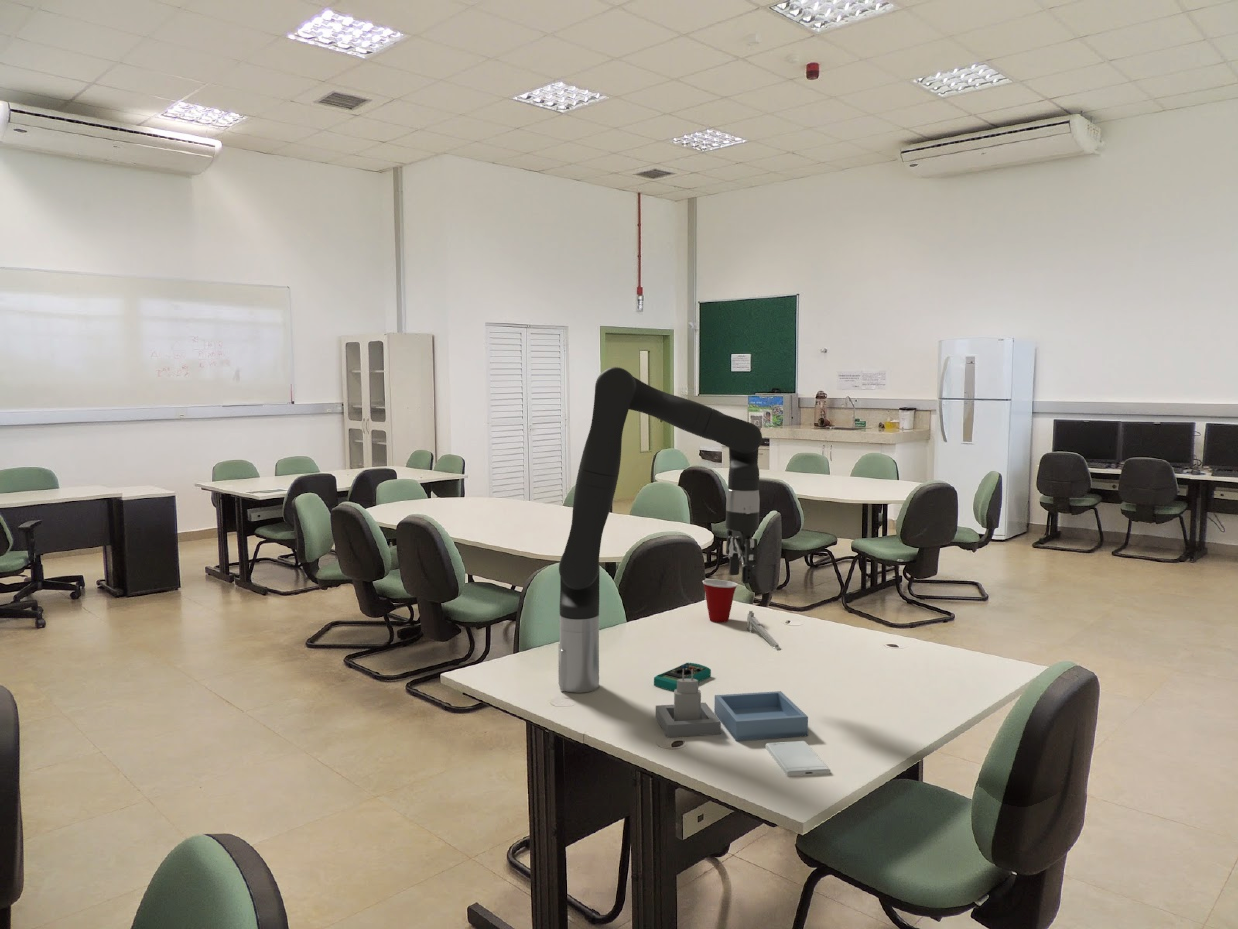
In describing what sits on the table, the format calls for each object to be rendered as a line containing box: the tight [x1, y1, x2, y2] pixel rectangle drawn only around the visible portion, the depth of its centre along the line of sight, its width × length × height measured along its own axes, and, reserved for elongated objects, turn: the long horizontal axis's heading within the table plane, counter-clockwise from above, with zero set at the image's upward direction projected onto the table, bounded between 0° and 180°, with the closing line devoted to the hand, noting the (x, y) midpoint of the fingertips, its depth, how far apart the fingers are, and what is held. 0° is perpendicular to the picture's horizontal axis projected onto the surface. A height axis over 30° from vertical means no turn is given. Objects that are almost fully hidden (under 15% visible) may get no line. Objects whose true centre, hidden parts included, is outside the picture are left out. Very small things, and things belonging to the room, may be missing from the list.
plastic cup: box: [702, 579, 739, 623], centre depth 259 cm, size 11×11×12 cm
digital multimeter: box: [653, 662, 712, 692], centre depth 204 cm, size 7×15×3 cm, turn 141°
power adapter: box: [673, 669, 702, 721], centre depth 176 cm, size 3×5×12 cm, turn 90°
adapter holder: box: [655, 702, 722, 738], centre depth 176 cm, size 11×11×2 cm
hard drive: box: [765, 740, 831, 777], centre depth 159 cm, size 2×8×12 cm
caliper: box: [746, 610, 781, 651], centre depth 238 cm, size 20×1×6 cm, turn 15°
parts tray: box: [713, 690, 809, 742], centre depth 177 cm, size 15×15×4 cm
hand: (740, 578), depth 195 cm, fingers open, 8 cm apart
